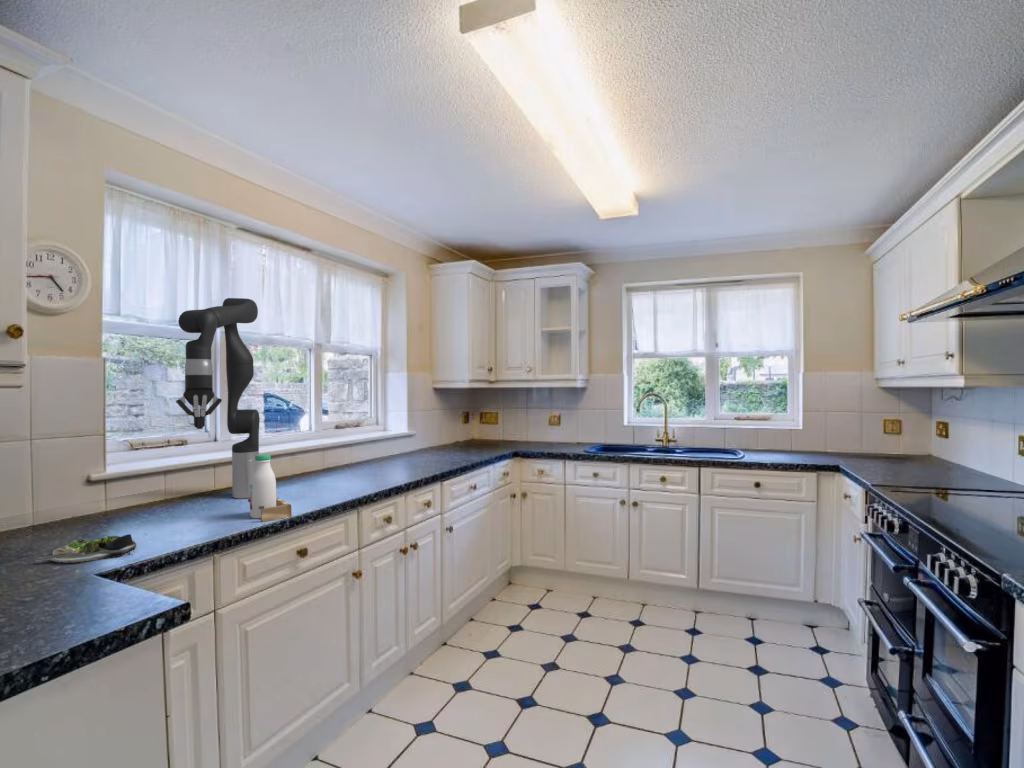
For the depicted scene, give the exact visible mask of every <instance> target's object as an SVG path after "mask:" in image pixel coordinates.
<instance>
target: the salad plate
mask: <svg viewBox="0 0 1024 768" xmlns="http://www.w3.org/2000/svg"><path fill="white" fill-rule="evenodd" d="M136 548H137V542H136V541H134V539H133V537H132V534H131V533H129V534H125V535H122V536H119V535H107V536H106V535H105V536H103V537H101V536H99V537H97V538H95V539H94V540H88V539H84V538H83V539H80V540H73V541H71V542H70V543H69V544H66V545H64V546H63V545H62V546H60V547H59V548H56V549H54V550H53V551H52V554H47V555H41V556H39V557H37V559H38V561H39V560H41V561H51V562H55V563H61V562H63V563H64V564H66V563H67V564H76V563H77V562H80V563H85V562H84V561H87V562H91V561H90V560H92V561H96V560H95V559H98V560H103V559H102V558H104V559H109V558H108V557H110V558H113V556H115V557H119V556H118V555H120V556H123V555H122V554H124V555H126V554H125V553H127V554H129V553H131V552H130V551H132V550H133V551H135V549H136ZM133 551H132V552H133ZM128 552H129V553H128ZM77 564H78V563H77Z"/></svg>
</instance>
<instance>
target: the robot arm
mask: <svg viewBox="0 0 1024 768" xmlns="http://www.w3.org/2000/svg"><path fill="white" fill-rule="evenodd" d="M258 314H259V308H258V305H257V303H256V302H255V300H253V299H250V298H242V297H241V298H240V297H239V298H238V297H227V298H225V299H224V300H223V302H222V305H220V306H219V305H217V306H212V307H208V308H204V309H191V310H185V311H183V312H182V313H181V314H180V315H179V317H178V326H179V327H180V329H181V330H182V331H183V332H185V333H188V334H200V335H199V337H198V338H195V339H193V340H188V341H187V342H186V343H185V364H184V388H185V389H184V392H183V394H182V395H183V396H181V397H180V398H178V399H175V403H176V404H177V405H178V407H180V408H181V409H182V410H183V411H184V413H185V414H186V415H188V416H192V417H193V426H194V428H196V430H200V429H201V430H202V429H203V427H204V428H205V426H206V416H209V415H212V413H213V412H214V411H215V410H216V409H217V407H218V406H219V405H220V404H221V403H222V401H223V399H222V398H219V397H217V396H216V395H215V391H214V390H213V389H214V388H213V387H214V386H213V376H214V375H213V374H214V370H213V363H212V362H213V361H212V347H213V342H214V337H215V336H216V331H217V329H219V328H222V327H223V329H224V339H225V365H226V366H225V368H226V369H225V371H226V384H227V408H226V409H227V412H226V415H227V416H226V425H227V431H228V433H230V434H232V435H239V434H242V435H244V434H248V437H247V438H245V439H244V440H241V441H238V442H236V443H234V444H232V447H231V463H232V464H231V469H232V471H231V474H232V475H231V477H232V479H231V482H232V483H231V484H232V486H231V489H232V490H231V491H232V498H233V497H234V498H233V499H250V480H251V476H252V474H253V472H254V469H255V466H256V462H255V456H256V455H259V454H260V451H259V450H260V443H259V442H260V440H259V439H260V419H261V418H260V412H259V411H258V410H257V409H239V407H238V406H239V402H240V399H241V397H242V395H243V393H244V392H245V390H246V389H247V387H248V386H249V385H250V384H251V382H252V380H253V378H254V370H255V369H254V358H253V356H252V353H251V352H250V350H249V348H248V347H247V345H246V344H245V343H244V341H243V340H242V338H241V336H240V334H239V330H238V324H250V323H253V322H255V321H256V320H257V318H258ZM186 401H187V403H188V404H190V405H191V407H192V410H191V409H190V408H189V407H188V406H187V405H186V404H187V403H186ZM210 402H212V404H211V405H209V403H210ZM208 405H209V407H208V409H207V406H208Z"/></svg>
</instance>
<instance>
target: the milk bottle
mask: <svg viewBox="0 0 1024 768" xmlns="http://www.w3.org/2000/svg"><path fill="white" fill-rule="evenodd" d="M271 457H272V455H271V454H269V453H259V455H256V456H255V462H256V466H255V469H254V472H253V474H252V476H251V480H250V498H249V499H250V502H249V516H250V518H251V519H260V520H261V509H259V506H264V508H268V507H275V506H276V498H277V480H276V475H275V472H274V471H273V468H272V465H271Z"/></svg>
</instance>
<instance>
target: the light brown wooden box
mask: <svg viewBox="0 0 1024 768" xmlns="http://www.w3.org/2000/svg"><path fill="white" fill-rule="evenodd" d="M247 502H248V503H250V498H247ZM259 509H261V518H260V521H261V523H264V522H265V521H266V522H271V521H270V520H272V521H276V520H275V519H278V520H282V519H281V518H285V519H287V518H286V517H291V518H292V504H290V503H289V502H287V501H286V500H283V499H281V498H279V497H276V506H275V507H268V508H264V506H259Z"/></svg>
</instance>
